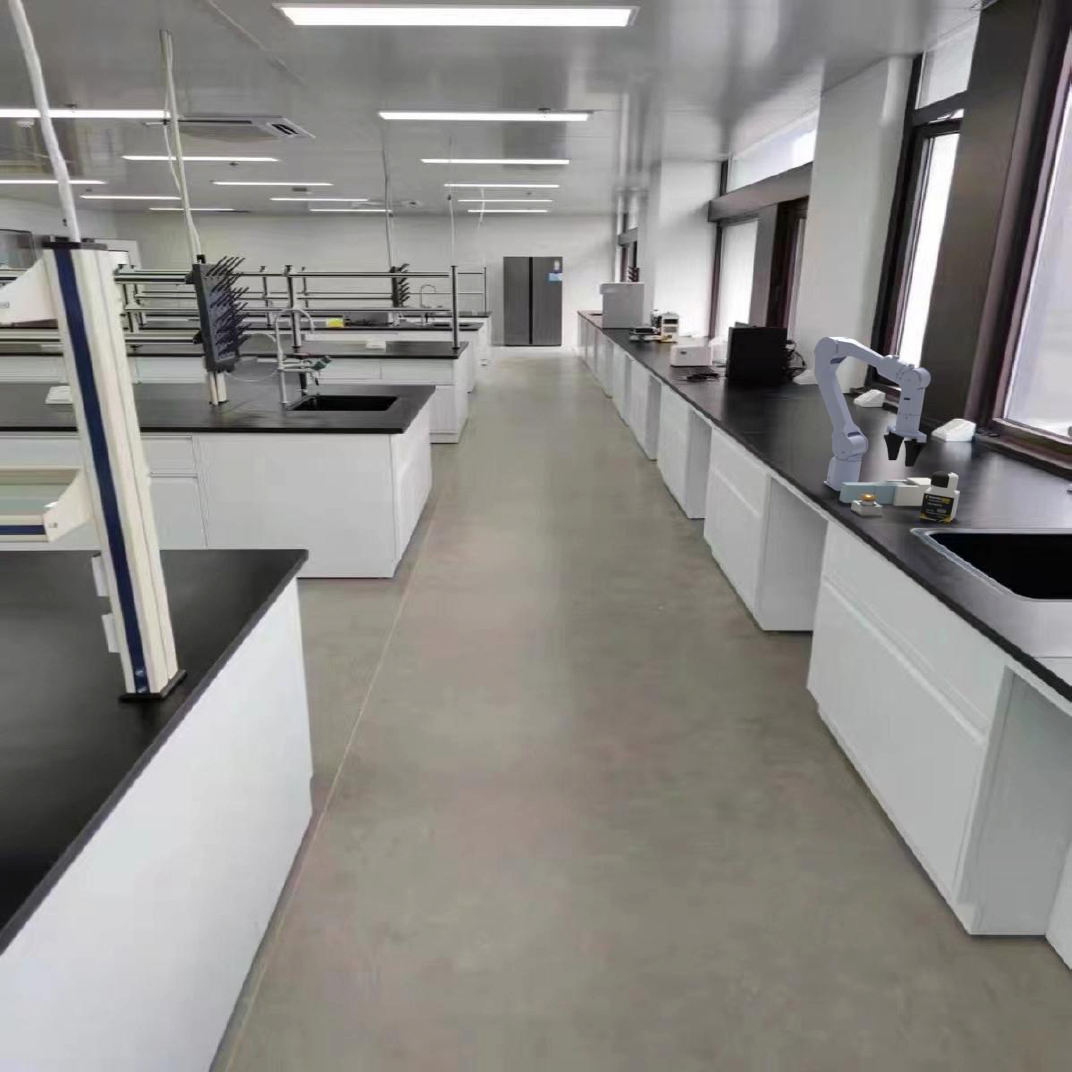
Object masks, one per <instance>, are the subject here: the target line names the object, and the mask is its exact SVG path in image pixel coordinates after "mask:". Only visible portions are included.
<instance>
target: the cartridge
mask: <svg viewBox="0 0 1072 1072" xmlns="http://www.w3.org/2000/svg"><path fill="white" fill-rule="evenodd" d="M896 485H903V486H908V485H906V484H904V483H902V482H885V481H877V482H876V481H870V482H859V481H858V482H842V487H841V491H840V493H839V501H840V502H842V503H843V504H852V501H862V499H861V495H862V494H871V495H875V496H876V497H877V498H876V500H874V502H876V503H878V504H879V505H882V504H885V505H886V504H888V505H890V504H891V505H893V501H894V495H895V489H896Z"/></svg>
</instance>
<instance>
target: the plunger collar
mask: <svg viewBox="0 0 1072 1072" xmlns="http://www.w3.org/2000/svg"><path fill="white" fill-rule="evenodd" d="M861 502H862V501H852V503H851V508H850V510H852V511H853V512H855V511H856V512H857V513H856V512H855V513H856V514H858V513H859V514H860V515H859V514H858V515H859V516H883V509H884V506H883V505H882V504H878V503H876V502H874V505H873V506H864V505H862V504H861Z"/></svg>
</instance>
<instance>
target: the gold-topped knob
mask: <svg viewBox="0 0 1072 1072" xmlns="http://www.w3.org/2000/svg"><path fill="white" fill-rule="evenodd" d="M876 498H877V497H876V496H875V495H871V494H862V495H861V499H862V502H861V504H862V505H864V506H873V505H874V500H876Z"/></svg>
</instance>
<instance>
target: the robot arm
mask: <svg viewBox="0 0 1072 1072" xmlns="http://www.w3.org/2000/svg"><path fill="white" fill-rule="evenodd" d="M813 355H814V366H813V367H814V368H813V373H814V376H815V379H816V383H817V385H818V388H819V390H820V393H821V397H822V399H823V402H824V405H825V407H826V410H827V414H828V416H829V420H830V422H831V425H832V428H833V431H832V433H831V436H830V439H831V441H832V445H831V450H832V453H833V454H834V456H833V457H832V458H830V461H829V463H828V468H827V469H828V470H827V478H826V480H824V481H823V483H824V484H825V485H826V486H828V487H830V488H831V489H833V490H834V491H835V492H836V491H837V492H841V487H842V482H859V479H860V472H861V471H860V470H861V465H862V459H863V454H865V453H866V452H867V450H868V448H869V441H868V438H867V437H866V435H864V434H863V432H862V430H861V428H860V427H859V426H857V424H855V423H854V421H853V418H852V415H851V412H850V410H849V407H848V404H847V401H846V399H845V396H844V394H843V390H842V386H841V384H840V382H839V379H838V376H837V370H838V368H839V367H840V365H841V364H842V363H843V362H844V361H845V360H846V359H847V358H848V357H852V358H855V359H857V360H859V361H861V362H863V363H865V364H868V365H870V366H872V367H875V368H876V371H877V374H878V375H880V376H881V377H884V378H886V379H887V380H889V381H891V382H893V383H895V384H897V385H898V386H899V387H900V390H901V391H900V396H899V402H898V409H897V413H896V414H897V415H896V419H895V425H894V424H893V425H892V424H891V425H886V431H885V432H886V433H887V434H883V439H884V442H885V445H886V450H887V458H888V461H897V460H898V457H899V453H900V449H901V446H902V444H904V449H905V457H904V458H905V460H904V466H905V467H906V468H908V467H909V468H910V467H914V466H915V465H916V462H917V460H918V458H919V456H920V455H921V452H922V451H923V450H924V449H925V447H926V446H927V445H928V441H927V434H925V433H923V432H921V431H919V428H920V420H921V417H922V416H921V415H922V411H923V404H924V398H925V393H926V388H927V387H928V386H929V385H930V383H931V381H932V380H931V379H932V376H931V374H930V372H929V370H928V369H926V368H925V367H915V364H914V363H908V362H907V361H904V360H902V359H901V358H900V356H899V355H897V354H888V355H885V356H883V355H881V354H879V353H878V352H876V351H874V350H873V349H871V348H869V347H867V346H866V345H863V344H862V343H860V342H859V341H857V340H856V339H854V338H850V337H848V336H845V335H840V336H834V337H833V336H831V337H829V336H825V337H821V339H819V340H818V341H817V342H816V345H815V347H814V349H813ZM905 438H906V439H910V440H905Z"/></svg>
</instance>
